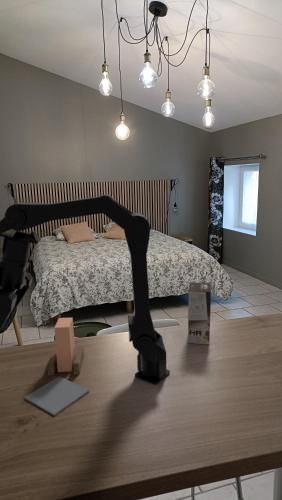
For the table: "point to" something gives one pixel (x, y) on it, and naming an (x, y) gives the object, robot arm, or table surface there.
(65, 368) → the thick orange-brown block
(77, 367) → the slot holder
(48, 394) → the slate mat
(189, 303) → the coffee box
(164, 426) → the table surface
